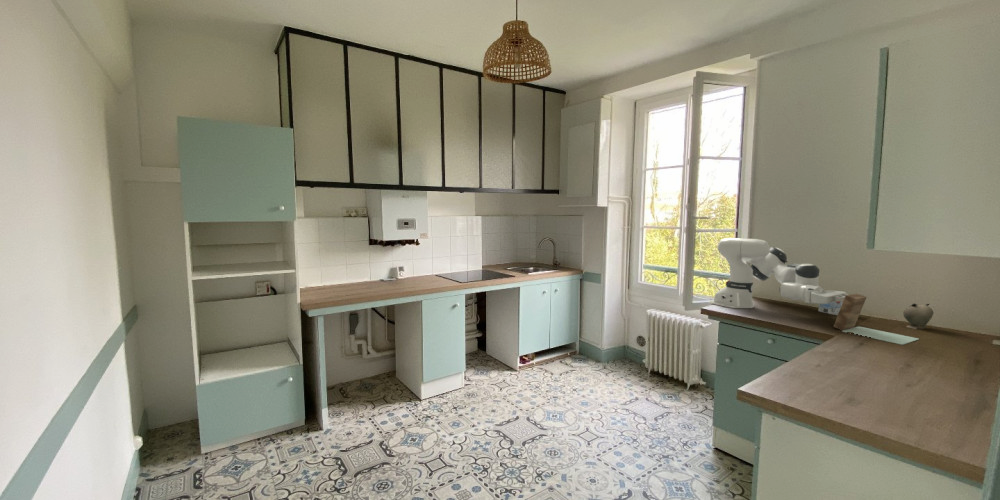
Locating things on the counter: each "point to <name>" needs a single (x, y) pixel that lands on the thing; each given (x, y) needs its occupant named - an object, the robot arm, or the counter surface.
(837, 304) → the light bulb box
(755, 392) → the counter surface
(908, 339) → the sage board
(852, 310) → the walnut domino
